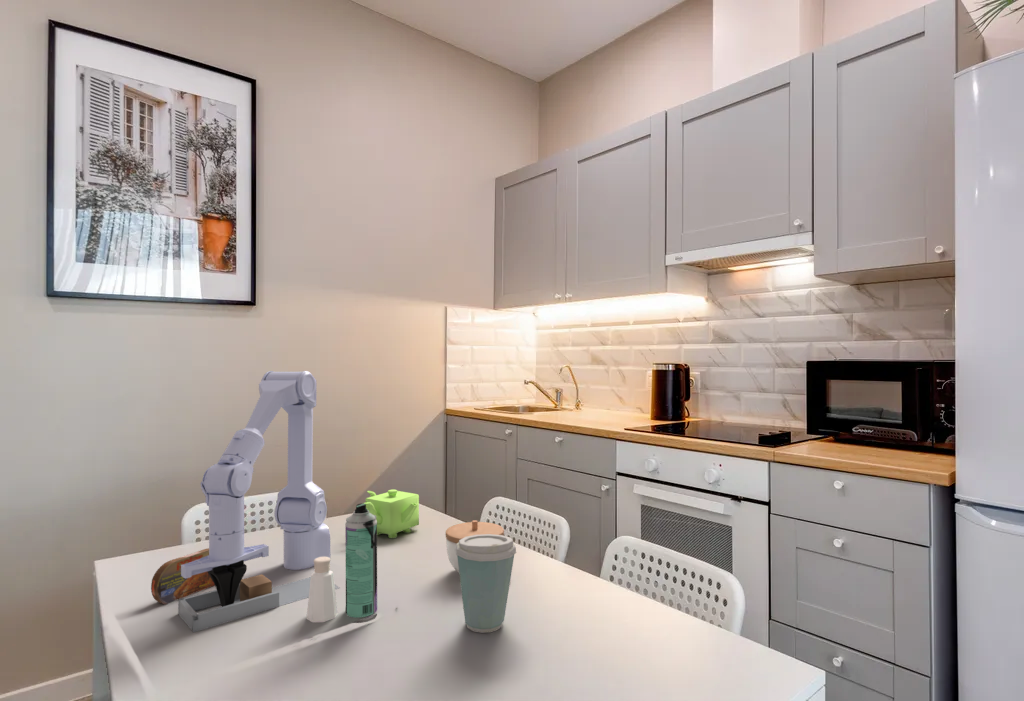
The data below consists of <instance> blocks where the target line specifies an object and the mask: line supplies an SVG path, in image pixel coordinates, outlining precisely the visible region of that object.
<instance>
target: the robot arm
mask: <svg viewBox="0 0 1024 701" xmlns="http://www.w3.org/2000/svg"><path fill="white" fill-rule="evenodd" d="M258 391H259V398H258V400H257V402H256V404H255V406H254V409H253V411H252V412H251V415H250V417H249V419H248V422H247V423H246V425H245V428H242V429H239V430H236V431H235V432H234V434H233V436H232V437H231V439H230V441H229V443H228V445H227V446H226V448H225V450H224V451H223V452H222V454H221V457H220V458H219V460H218V461H217V463H214V464H213V465H211V466H210V467H208V468H207V469H206V470H205V472H204V473H203V476H202V481H201V482H200V490H201V491H202V494H204V496H205V504H206V506H208V548H209V555H208V556H205V557H203V558H200V559H198V560H195V561H192V562H189V563H186V564H183V565H181V576H182V577H183V578H185V579H186V578H190V577H192V575H196V574H199V573H203V572H208V574H209V575H210V577H211V579H212V581H213V582H214V587H215V590H216V589H217V592H218V595H219V599H220V603H221V604H220V607H223V606H227V605H230V604H234V599H235V596H236V592H237V589H238V586H239V584H240V582H241V579H244V576H245V574H246V572H247V569H248V568H247V567H248V565H247V564H245V562H246V561H250V560H254V559H258V558H267V557H269V554H270V553H269V551H270V548H269V545H268V544H265V543H262V544H257V545H250V546H245V495H246V493H247V492H248V491H249V489H250V488H251V485H252V481H253V474H254V469H255V468H254V466H255V463H256V461H257V460H258V457H259V455H260V454H261V452H262V450H263V448H264V447H265V445H266V444H265V443H266V442H265V439H264V436H263V435H264V434H265V432H266V431H267V429H268V428H269V427H270V425H271V423H272V422H273V420H274V419H275V418H276V416H277V414H279V411H280V410H281V409H283V410H284V411H285V412H286V413H287V418H288V419H287V485H285V486H284V487H283V488H282V489H280V491H279V492H278V493H277V500H276V505H275V507H274V520H275V522H276V523H277V525H279V528H280V530H283V568H284V569H288V570H292V571H293V570H306V569H309V568H312V567H314V560H315V559H316V558H318V557H329V558H330V559H331V533H330V528H329V527H328V525H327V524H326V523H324V522H325V519H326V517H327V513H328V512H327V511H328V508H327V503H326V499H325V498H326V497H325V491H324V489H322V488H321V487H320V486H319V485H317V484H316V483H314V481H313V466H314V465H313V463H314V460H313V457H314V455H313V454H314V450H313V447H314V446H313V445H314V444H313V442H314V440H313V439H314V434H313V433H314V408H316V407H317V393H318V392H317V379H316V378H315V377H314V375H313V373H312V372H310V371H308V370H302V371H273V370H269V371H267V372H265V373H264V374H263V376H262V378H261V381H260V382H259V384H258Z"/></svg>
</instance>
